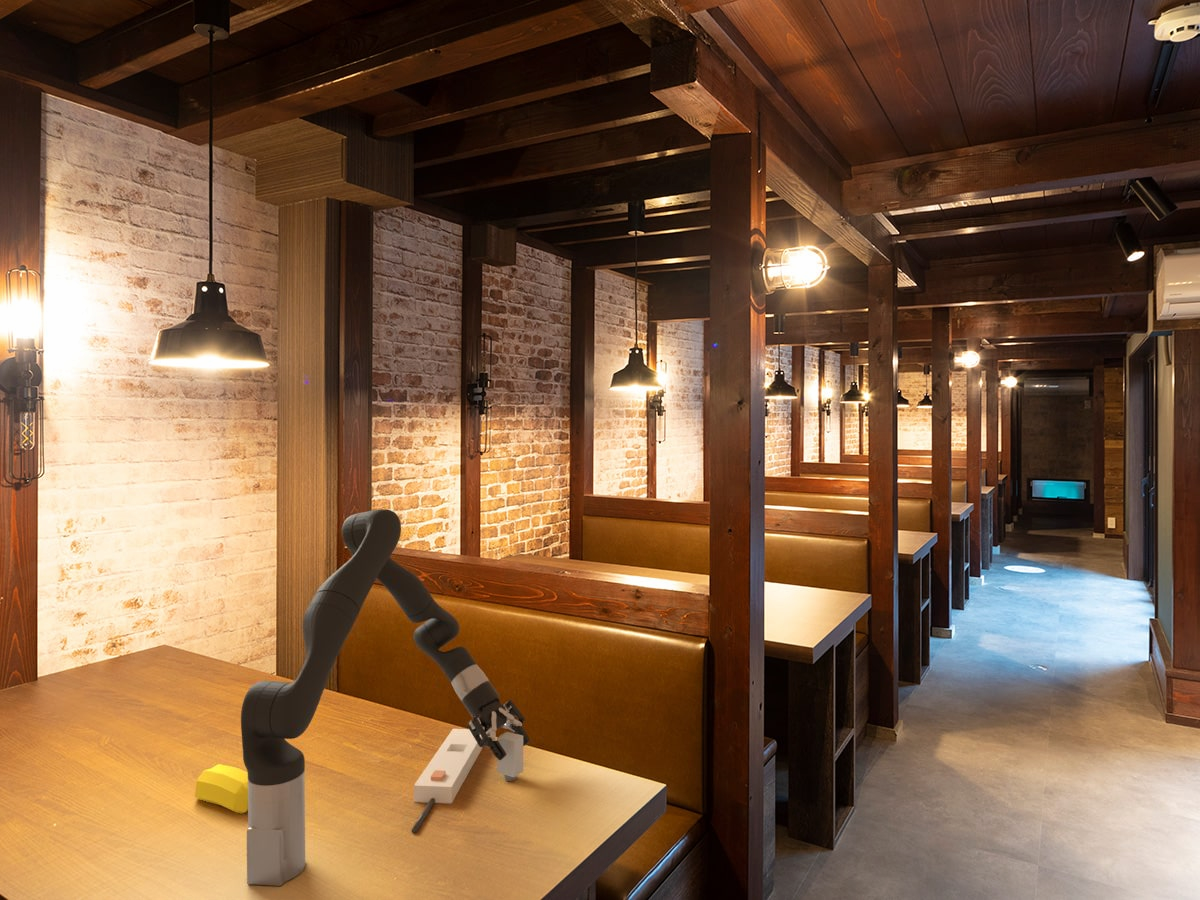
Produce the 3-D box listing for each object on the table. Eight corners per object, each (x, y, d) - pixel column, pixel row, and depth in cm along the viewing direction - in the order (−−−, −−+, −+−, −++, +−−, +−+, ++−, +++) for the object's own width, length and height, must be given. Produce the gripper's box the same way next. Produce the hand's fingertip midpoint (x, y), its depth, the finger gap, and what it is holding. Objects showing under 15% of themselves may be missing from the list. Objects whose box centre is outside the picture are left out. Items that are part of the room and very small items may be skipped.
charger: (523, 778, 170) (523, 735, 169) (514, 784, 167) (514, 741, 166) (506, 773, 172) (506, 731, 172) (497, 779, 169) (497, 737, 168)
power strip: (434, 834, 146) (434, 812, 146) (393, 832, 147) (393, 810, 147) (484, 743, 188) (484, 726, 188) (452, 742, 189) (452, 725, 188)
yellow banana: (218, 785, 166) (185, 800, 159) (218, 755, 166) (185, 769, 159) (275, 804, 158) (243, 821, 151) (275, 772, 158) (242, 788, 151)
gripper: (463, 689, 166) (505, 753, 161) (503, 672, 179) (543, 730, 173) (444, 709, 169) (485, 772, 164) (485, 690, 181) (524, 748, 176)
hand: (515, 750), depth 168 cm, fingers open, 8 cm apart
